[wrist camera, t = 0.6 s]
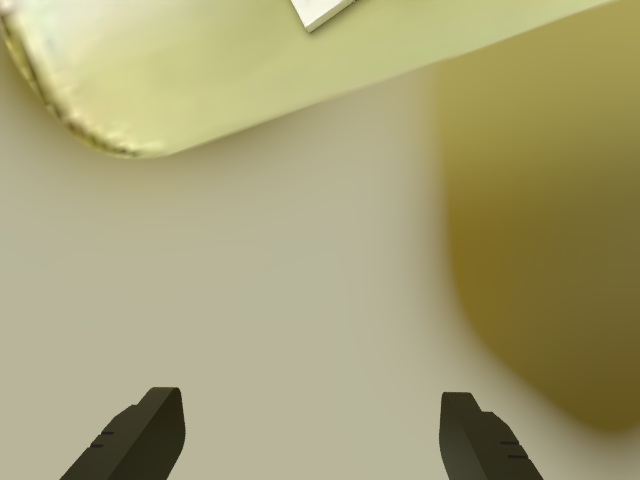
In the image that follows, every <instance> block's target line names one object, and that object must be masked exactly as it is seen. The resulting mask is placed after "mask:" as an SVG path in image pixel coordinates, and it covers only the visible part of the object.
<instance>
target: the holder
mask: <svg viewBox="0 0 640 480" xmlns="http://www.w3.org/2000/svg"><path fill="white" fill-rule="evenodd" d="M291 1H292V3H293V5H294V7H295V9H296V11H297V12H298V14H299V16H300V18H301V20H302V22H303V24H304V26H305V28H306V29H307V31H308V32H309V33H310V32H312V31H313V30H315V29H316V28H318V27H319V26H320V25H322V24H323V23H325V22H326V21H327V20H329V19H330V18H332V17H333V16H335V15H336V14H337V13H339V12H340V11H342V10H343V9H344V8H346V7H347V6H349V5H350V4H352V3H353V2H354V1H356V0H291Z"/></svg>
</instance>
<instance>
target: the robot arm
mask: <svg viewBox="0 0 640 480" xmlns="http://www.w3.org/2000/svg"><path fill="white" fill-rule="evenodd" d="M184 441H185V422H184V414H183V406H182V398H181V392H180V389H179V388H177V387H176V388H174V387H170V388H169V387H153V388H151V389H150V390H149V391H148V392H147V393H146V395H145V396H144V397H143V398H142V399H141V401H140V402H139V403H138V404H137V405H131V406H130V407H128V408H127V409H126V410H124V411H123V412H121V413H120V414H118V415H117V416H115V417H114V418H113V419H112V420H111V422H110V423H109V424H108V425H107V426H106V427H105V428H104V430H103V431H102V433H101V435H98V437H96V439H95V440H94V441H93V442H92V443H91V446H90V448H87V449H86V450H85V451H84V452H83V453H82V455H81V456H80V457H79V458H78V459H77V460H76V461H75V463H74V464H73V465H72V466H71V467H70V468H69V469H68V471H67V472H66V473H65V474H64V475H63V476H62V478H61V479H60V480H166V479H167V478H168V476H169V474H170V472H171V470H172V468H173V467H174V465H175V463H176V461H177V459H178V457H179V455H180V454H181V451H182V449H183V445H184ZM439 444H440V451H441V456H442V459H443V463H444V466H445V469H446V472H447V474H448V477H449V480H543V478H542V476H541V475H540V473H539V472H538V470H537V469H536V467H535V466H534V464H533V463H532V461H531V460H530V459H528V455H527V453H526V452H525V450H524V449H523V447H522V446H521V445H519V441H518V440H517V438H516V437H515V435H514V434H513V432H512V430H511V429H510V427H509V426H508V425H507V424H506V423H505V422H503V421H502V420H501V419H500V418H499V417H497V416H496V415H495V414H494V413H493V412H482V411H481V409H480V407H479V406H478V404H477V402H476V401H475V399H474V397H473V396H472V394H471V393H467V392H444V393H443V394H442V400H441V415H440V430H439Z"/></svg>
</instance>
